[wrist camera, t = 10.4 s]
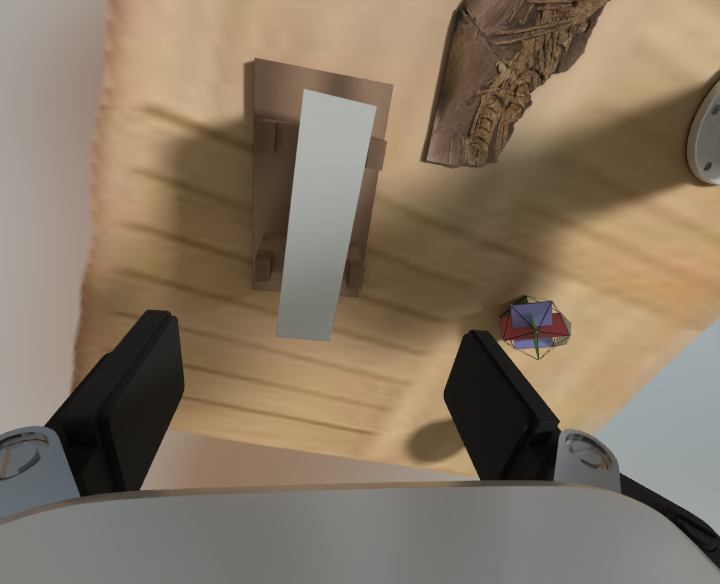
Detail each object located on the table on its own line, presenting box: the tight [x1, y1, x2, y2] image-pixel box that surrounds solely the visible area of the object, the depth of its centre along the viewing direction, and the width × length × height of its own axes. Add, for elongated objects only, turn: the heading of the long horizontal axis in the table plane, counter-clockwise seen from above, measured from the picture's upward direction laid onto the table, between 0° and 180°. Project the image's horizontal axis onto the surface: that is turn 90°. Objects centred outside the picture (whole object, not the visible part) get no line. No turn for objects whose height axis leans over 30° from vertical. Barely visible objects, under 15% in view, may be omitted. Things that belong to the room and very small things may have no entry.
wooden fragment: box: [424, 0, 610, 168], centre depth 28 cm, size 26×11×1 cm, turn 145°
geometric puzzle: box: [499, 295, 571, 361], centre depth 39 cm, size 7×7×8 cm
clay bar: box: [276, 89, 377, 342], centre depth 25 cm, size 4×16×7 cm, turn 168°
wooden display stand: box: [252, 58, 393, 297], centre depth 29 cm, size 11×20×7 cm, turn 171°
